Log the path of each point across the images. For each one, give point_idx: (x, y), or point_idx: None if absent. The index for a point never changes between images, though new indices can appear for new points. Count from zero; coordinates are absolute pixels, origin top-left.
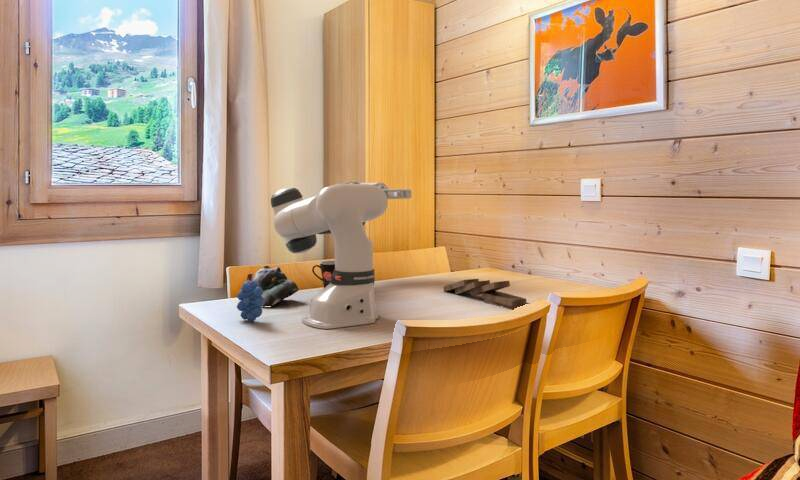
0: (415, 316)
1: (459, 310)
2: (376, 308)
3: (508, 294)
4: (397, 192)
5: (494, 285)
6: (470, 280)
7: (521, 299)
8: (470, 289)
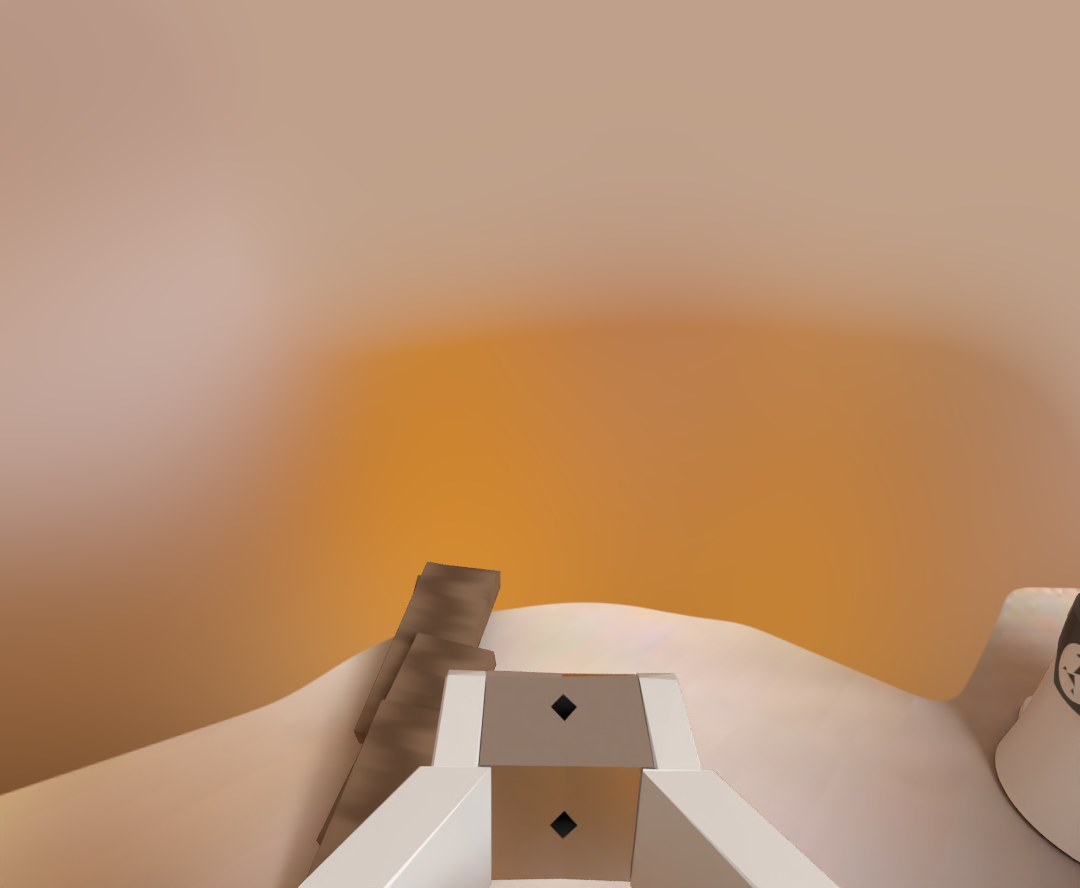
0: (841, 697)
1: None
2: (1017, 725)
3: None
4: (636, 676)
5: (495, 581)
6: (429, 711)
7: (458, 566)
8: None
